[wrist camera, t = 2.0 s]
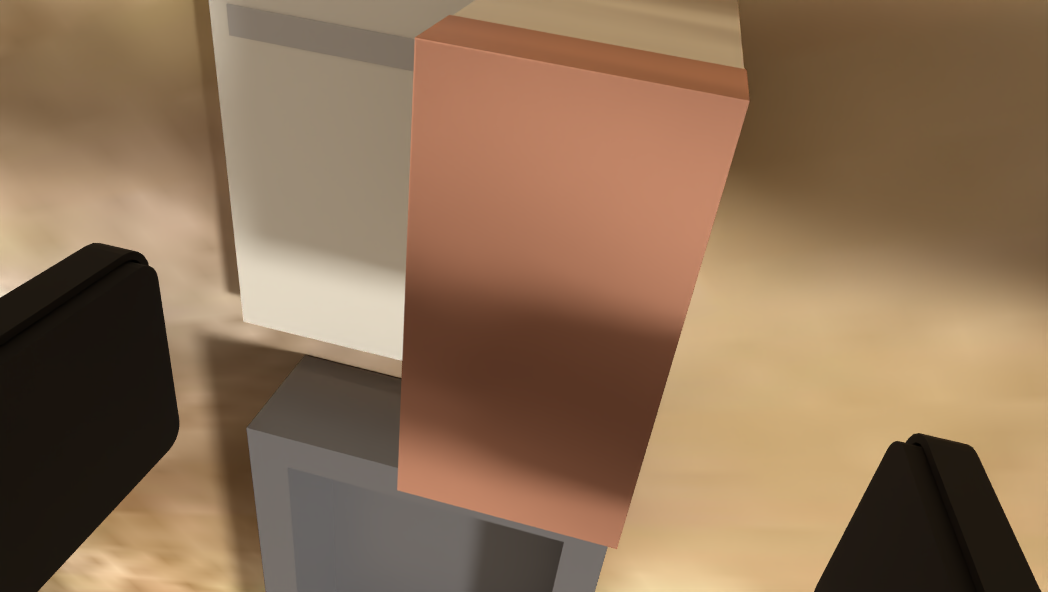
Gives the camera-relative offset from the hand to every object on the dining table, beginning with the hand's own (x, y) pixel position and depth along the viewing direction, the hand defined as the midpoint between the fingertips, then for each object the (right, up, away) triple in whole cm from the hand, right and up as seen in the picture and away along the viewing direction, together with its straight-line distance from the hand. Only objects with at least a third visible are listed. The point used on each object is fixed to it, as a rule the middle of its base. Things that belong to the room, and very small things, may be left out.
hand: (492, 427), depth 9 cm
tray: (-2, -6, +14) cm, 15 cm away
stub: (+2, +5, +6) cm, 8 cm away
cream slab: (-3, +6, +6) cm, 9 cm away
